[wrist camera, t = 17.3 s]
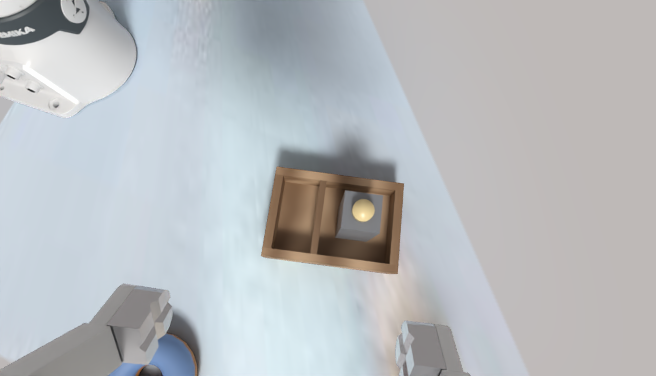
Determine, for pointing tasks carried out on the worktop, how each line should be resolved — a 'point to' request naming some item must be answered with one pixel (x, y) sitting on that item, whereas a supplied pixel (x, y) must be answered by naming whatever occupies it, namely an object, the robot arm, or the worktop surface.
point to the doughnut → (165, 359)
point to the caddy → (329, 221)
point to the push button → (359, 216)
